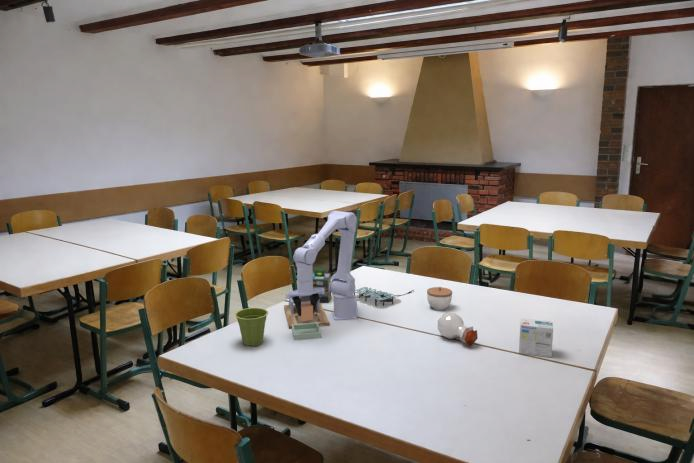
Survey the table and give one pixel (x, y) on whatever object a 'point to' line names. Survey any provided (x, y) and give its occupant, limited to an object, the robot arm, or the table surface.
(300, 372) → the table surface
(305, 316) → the block
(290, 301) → the cover
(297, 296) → the robot arm
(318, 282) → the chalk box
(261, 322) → the plant pot
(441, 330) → the potion bottle
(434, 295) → the lidded jar
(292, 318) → the board
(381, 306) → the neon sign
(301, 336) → the tray
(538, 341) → the light bulb box
